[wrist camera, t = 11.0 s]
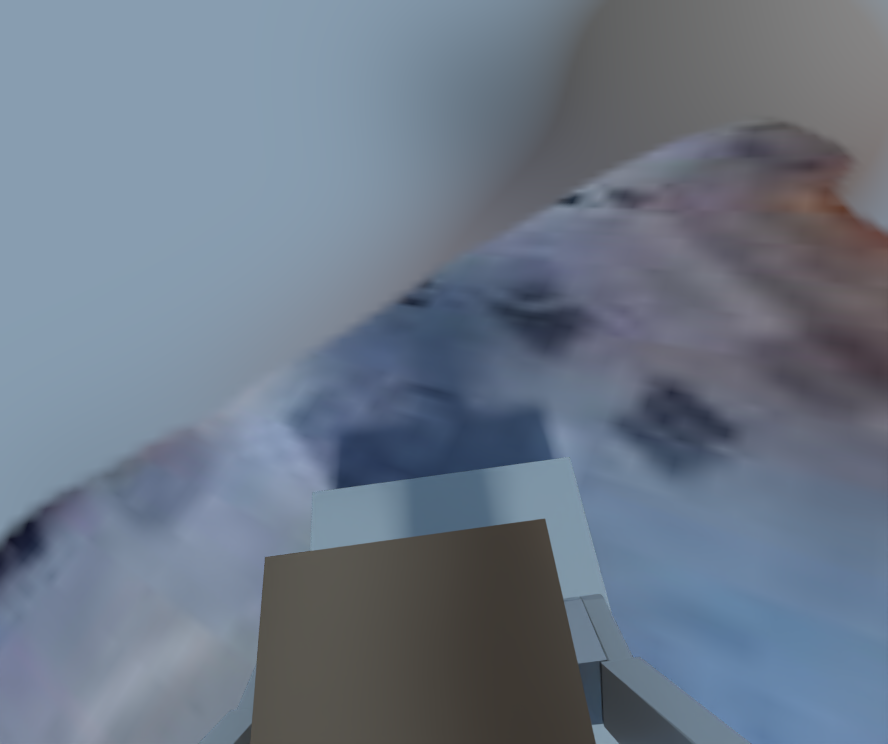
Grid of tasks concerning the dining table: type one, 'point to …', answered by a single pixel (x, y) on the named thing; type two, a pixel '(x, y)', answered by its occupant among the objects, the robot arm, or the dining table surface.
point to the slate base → (470, 517)
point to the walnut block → (419, 643)
